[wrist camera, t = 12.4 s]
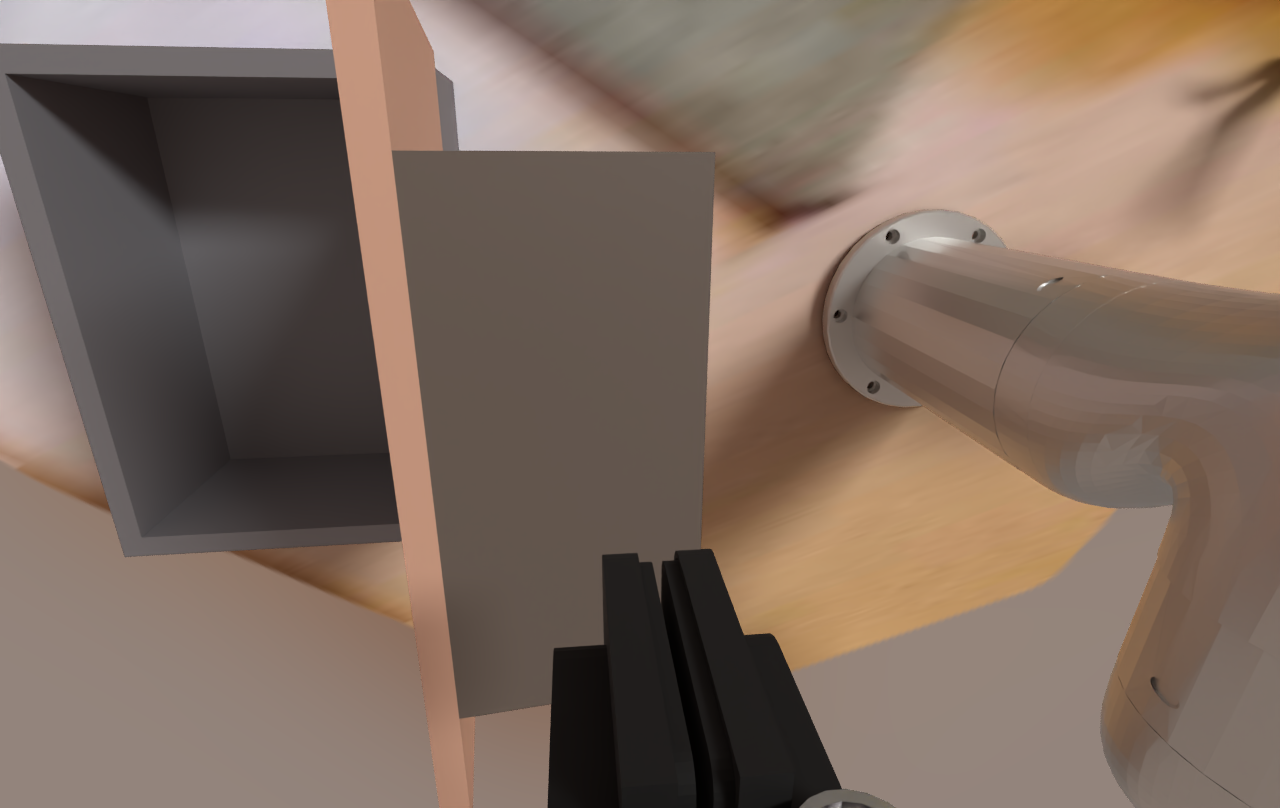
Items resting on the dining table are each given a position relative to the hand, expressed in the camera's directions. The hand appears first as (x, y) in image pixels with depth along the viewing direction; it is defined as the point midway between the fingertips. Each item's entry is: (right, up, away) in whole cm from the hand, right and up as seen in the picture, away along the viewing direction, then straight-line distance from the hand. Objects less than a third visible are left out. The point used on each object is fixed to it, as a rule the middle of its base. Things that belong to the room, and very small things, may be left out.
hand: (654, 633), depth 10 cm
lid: (-8, +4, +12) cm, 15 cm away
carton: (-18, +10, +28) cm, 35 cm away
